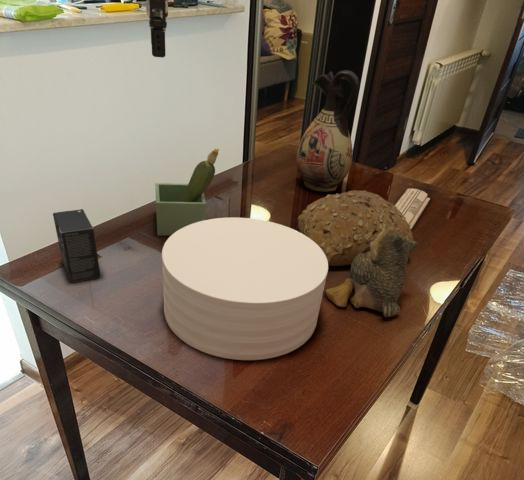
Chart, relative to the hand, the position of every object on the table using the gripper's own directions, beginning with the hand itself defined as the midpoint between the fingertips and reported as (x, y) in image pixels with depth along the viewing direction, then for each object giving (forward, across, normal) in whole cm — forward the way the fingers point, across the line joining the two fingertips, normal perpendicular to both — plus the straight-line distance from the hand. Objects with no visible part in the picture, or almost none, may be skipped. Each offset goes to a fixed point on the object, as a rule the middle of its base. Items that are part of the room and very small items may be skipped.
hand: (158, 51), depth 84 cm
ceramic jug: (+35, -29, +45) cm, 64 cm away
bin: (+35, -5, +4) cm, 36 cm away
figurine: (+36, +26, +39) cm, 58 cm away
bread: (+35, +5, +42) cm, 55 cm away
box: (+36, +14, -16) cm, 42 cm away
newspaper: (+35, -15, +66) cm, 76 cm away
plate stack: (+36, +28, +13) cm, 47 cm away
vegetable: (+35, -6, +2) cm, 35 cm away
